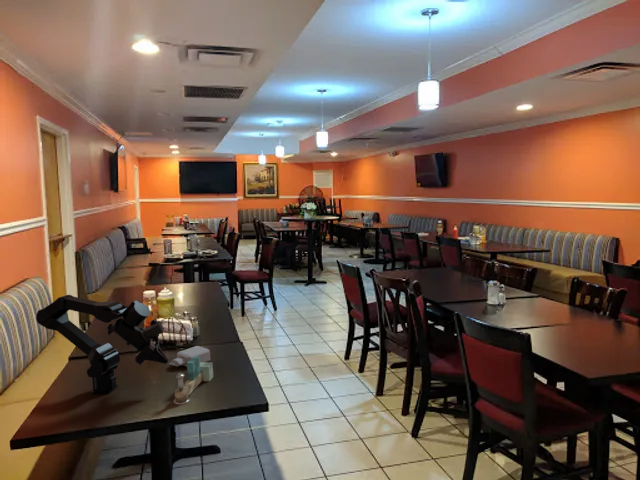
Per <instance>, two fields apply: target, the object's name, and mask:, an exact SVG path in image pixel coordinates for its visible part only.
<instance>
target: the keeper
mask: <svg viewBox="0 0 640 480" xmlns="http://www.w3.org/2000/svg"><path fill="white" fill-rule="evenodd" d="M213 367H214V365H213V362H209V361H207V362H200V371H202V372H203V380H202V382H210V381H211V380H212V379H213V378H214V368H213Z"/></svg>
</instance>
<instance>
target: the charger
mask: <svg viewBox="0 0 640 480" xmlns="http://www.w3.org/2000/svg"><path fill="white" fill-rule="evenodd" d="M194 356H195V357H200V362H209V361H211V351H210V349H209V348H206V347H203V346H199V345H195V346H192V347H189V348H187V349H184V350H181V351H178V352H177V353H176V358H174V359H171V360H170V362H168V365H171V366H174V367H179V366H184V367H186V368H187V363H188V362H189V361H190V360H191V359H192V358H193V357H194Z"/></svg>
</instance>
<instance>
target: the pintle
mask: <svg viewBox="0 0 640 480" xmlns="http://www.w3.org/2000/svg"><path fill="white" fill-rule="evenodd" d="M175 378H176V379H177V389H178V390H183V389H184V388H183V384H184V378H185V373H182V372H181V373H177V374H175ZM190 401H191V398H190V397H189V396H188V400H186V401H184V402H176V401H175V398H174V399H173V401H172V402H173V404H175V405H184V404H187V403H189V402H190Z"/></svg>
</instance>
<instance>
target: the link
mask: <svg viewBox="0 0 640 480" xmlns="http://www.w3.org/2000/svg"><path fill="white" fill-rule="evenodd" d="M186 368H187V380H186V381H185V382H183V388H184V389H183V390H178V388H177V389H175V390H174V399H175V401H176V402H184V401H186V400H188V397H189V396H190V395H191V393H193V391H194V390H195V389H196V388H197V387H198V386H199V385H200V383H201V382H203V372H202V371H200V357H195V356H194V357H193V358H192V359H191V360H190V361H189V362H188V363H187V367H186Z"/></svg>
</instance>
